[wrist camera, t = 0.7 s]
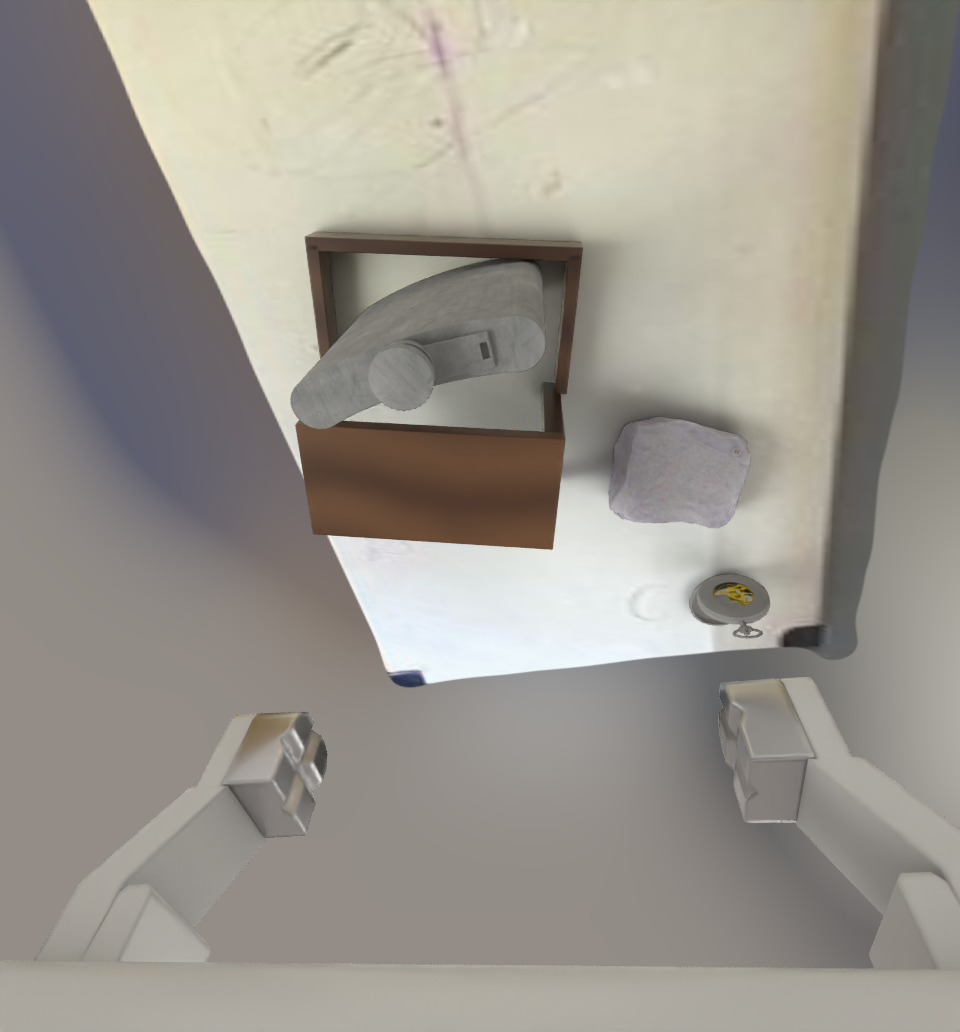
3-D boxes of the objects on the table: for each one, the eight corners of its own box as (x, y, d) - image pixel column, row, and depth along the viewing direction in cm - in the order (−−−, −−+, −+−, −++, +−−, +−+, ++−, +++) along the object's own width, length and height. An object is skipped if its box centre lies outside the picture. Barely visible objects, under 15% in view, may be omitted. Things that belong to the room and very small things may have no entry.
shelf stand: (314, 231, 47) (260, 258, 38) (580, 241, 46) (592, 272, 37) (342, 469, 59) (306, 534, 50) (554, 481, 58) (558, 550, 49)
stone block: (616, 406, 55) (602, 507, 59) (627, 418, 50) (610, 526, 54) (745, 415, 55) (721, 515, 59) (767, 427, 50) (740, 534, 54)
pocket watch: (709, 628, 67) (734, 699, 58) (666, 583, 64) (686, 652, 55) (777, 593, 63) (814, 664, 55) (735, 544, 60) (768, 611, 52)
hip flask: (369, 347, 52) (291, 453, 35) (349, 301, 50) (257, 390, 33) (546, 290, 48) (553, 379, 31) (533, 238, 46) (532, 303, 29)
